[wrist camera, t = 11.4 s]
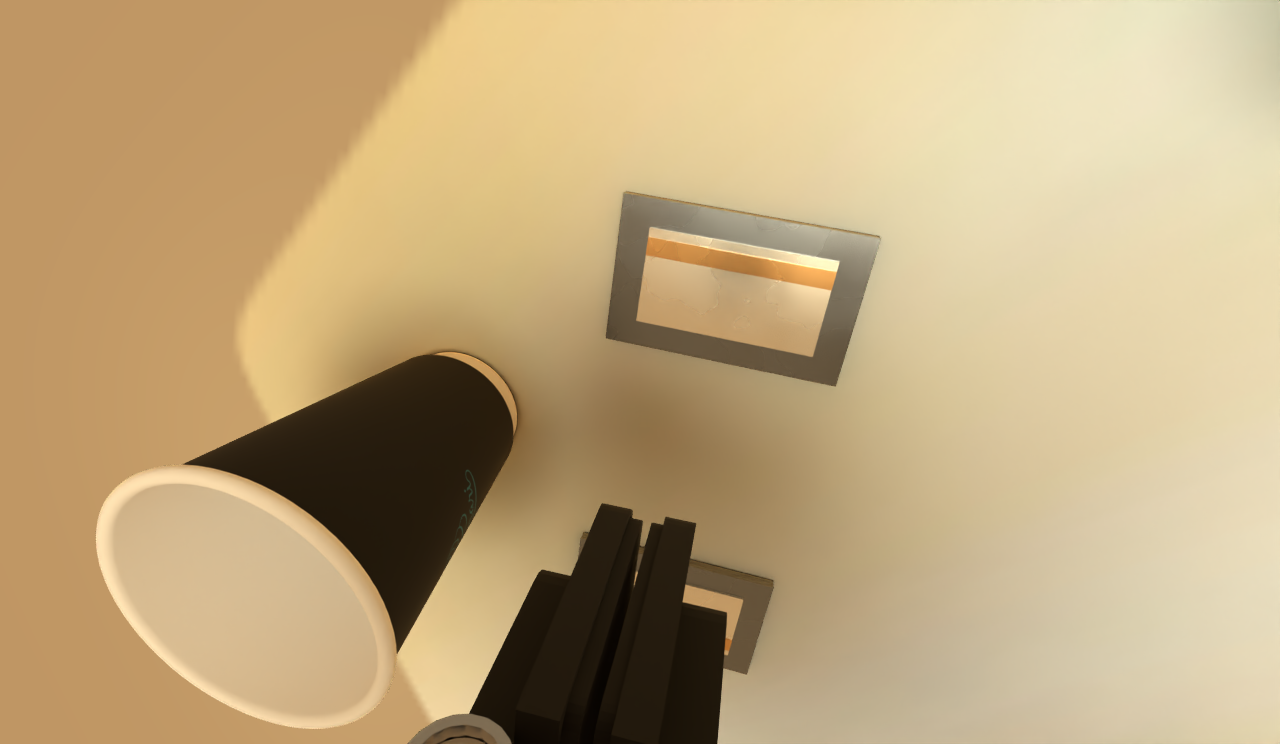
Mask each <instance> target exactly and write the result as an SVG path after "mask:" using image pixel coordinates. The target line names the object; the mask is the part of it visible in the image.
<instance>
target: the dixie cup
mask: <svg viewBox="0 0 1280 744" xmlns="http://www.w3.org/2000/svg"><path fill="white" fill-rule="evenodd" d="M516 425H517V410H516V405H515V401H514V399H513V396H512V394H511V392H510V390H509V388H508V386H507V385H506V383H505V382H504V381H503V379H502V378H501V377H500V376H499V375H498V374H497V373H496V372H495V371H494V370H493V369H492V368H491V367H489V366H488V365H487V364H485V363H483V362H482V361H480V360H478V359H476V358H474V357H472V356H469V355H466V354H462V353H456V352H442V353H437V354H434V355H423V356H418V357H414V358H411V359H409V360H407V361H405V362H403V363H400V364H398V365H396V366H394V367H392V368H390V369H388V370H385V371H383V372H381V373H379V374H377V375H375V376H372V377H370V378H368V379H366V380H364V381H362V382H359V383H357V384H355V385H353V386H351V387H349V388H346V389H344V390H342V391H340V392H338V393H336V394H334V395H331V396H329V397H327V398H325V399H323V400H321V401H318V402H316V403H314V404H312V405H310V406H308V407H305V408H303V409H301V410H299V411H297V412H295V413H292V414H290V415H288V416H286V417H284V418H282V419H280V420H277V421H275V422H273V423H271V424H269V425H267V426H264V427H263V428H260V429H258V430H256V431H254V432H252V433H249V434H247V435H245V436H243V437H241V438H238V439H236V440H234V441H232V442H230V443H228V444H226V445H223V446H221V447H219V448H217V449H215V450H213V451H210V452H208V453H206V454H204V455H202V456H200V457H197V458H195V459H193V460H191V461H189V462H187V463H185V464H183V465H167V466H160V467H155V468H152V469H148V470H145V471H141V472H139V473H137V474H134V475H132V476H130V477H129V478H127V479H126V480H124V481H123V482H121V483H120V484H119V485H118V486H117V487H116V488H115V489H114V490H113V491H112V492H111V493H110V495H109V496H108V497H107V499H106V500H105V502H104V504H103V506H102V508H101V511H100V514H99V517H98V522H97V530H96V547H97V555H98V560H99V563H100V568H101V571H102V574H103V576H104V579H105V582H106V584H107V586H108V588H109V591H110V593H111V594H112V596H113V598H114V600H115V602H116V604H117V605H118V607H119V609H120V610H121V612H122V613H123V615H124V616H125V618H126V619H127V620H128V622H129V623H130V625H131V626H132V627H133V628H134V629H135V631H136V632H137V633H138V635H139V636H140V637H141V638H142V639H143V640H144V641H145V643H146V644H147V645H148V646H149V647H150V648H151V649H152V650H153V651H154V652H155V653H156V654H157V655H158V656H159V657H160V658H161V659H162V660H163V661H164V662H165V663H167V664H168V665H169V666H170V667H171V668H172V669H174V670H175V671H176V672H177V673H178V674H180V675H181V676H182V677H183V678H185V679H186V680H188V681H189V682H190V683H192V684H193V685H194V686H196V687H198V688H199V689H200V690H202V691H204V692H205V693H207V694H208V695H210V696H212V697H213V698H215V699H217V700H218V701H221V702H222V703H224V704H226V705H228V706H230V707H232V708H234V709H236V710H239V711H241V712H243V713H245V714H248V715H250V716H253V717H256V718H258V719H262V720H265V721H268V722H272V723H275V724H280V725H284V726H289V727H296V728H307V729H319V728H331V727H336V726H341V725H345V724H348V723H351V722H354V721H356V720H358V719H360V718H362V717H363V716H365V715H367V714H368V713H369V712H371V711H372V710H373V709H374V708H375V707H376V706H377V705H378V704H379V703H380V702H381V701H382V700H383V698H384V697H385V695H386V694H387V692H388V690H389V688H390V685H391V683H392V680H393V677H394V673H395V669H396V660H397V653H398V652H399V650H400V648H401V646H402V645H403V643H404V641H405V639H406V637H407V636H408V634H409V632H410V630H411V628H412V627H413V625H414V623H415V621H416V620H417V618H418V616H419V614H420V612H421V611H422V609H423V607H424V605H425V604H426V602H427V600H428V598H429V596H430V595H431V593H432V591H433V589H434V587H435V586H436V584H437V582H438V580H439V579H440V577H441V575H442V573H443V571H444V570H445V568H446V566H447V564H448V563H449V561H450V559H451V557H452V555H453V554H454V552H455V550H456V548H457V547H458V545H459V543H460V541H461V539H462V538H463V536H464V534H465V532H466V530H467V529H468V527H469V525H470V523H471V522H472V520H473V518H474V516H475V514H476V513H477V511H478V509H479V507H480V506H481V504H482V502H483V500H484V498H485V497H486V495H487V493H488V491H489V489H490V488H491V486H492V484H493V482H494V481H495V479H496V477H497V475H498V473H499V472H500V470H501V468H502V466H503V465H504V463H505V461H506V459H507V457H508V456H509V453H510V451H511V448H512V444H513V435H514V433H515V430H516Z"/></svg>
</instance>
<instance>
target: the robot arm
mask: <svg viewBox="0 0 1280 744" xmlns="http://www.w3.org/2000/svg"><path fill="white" fill-rule="evenodd" d="M632 515H633V510H631V509H627V508H622V507H617V506H613V505H608V504H603V503H602V504H601V506H600V508H599V510H598V513H597V515H596V518H595V520H594V522H593V525H592V527H591V530H590V532H589V534H588V537H587V539H586V541H585V544H584V546H583V549H582V551H581V553H580V556H579V558H578V561H577V563H576V565H575V568H574V570H573V573H572V575H571V576H568V575H564V574H559V573H555V572H551V571H546V570H541V571H540V572H539V573H538V575H537V577H536V579H535V580H534V582H533V584H532V586H531V588H530V590H529V593H528V595H527V597H526V599H525V601H524V603H523V605H522V607H521V609H520V611H519V613H518V615H517V617H516V619H515V621H514V623H513V625H512V627H511V629H510V631H509V633H508V635H507V637H506V639H505V641H504V643H503V646H502V648H501V650H500V652H499V654H498V656H497V658H496V660H495V662H494V664H493V666H492V668H491V670H490V672H489V674H488V676H487V678H486V680H485V682H484V684H483V686H482V688H481V690H480V692H479V694H478V696H477V698H476V701H475V703H474V705H473V707H472V709H471V711H470V713H469V714H458V715H452V716H449V717H445V718H442V719H439V720H436V721H435V722H433V723H432V724H430V725H428V726H427V727H425V728H424V729H422V730H421V731H419V732H418V734H416V735H415V736H414V737H413V739H412V740H411V741H410V742H409V743H408V744H717V740H718V728H719V715H720V703H721V690H722V678H723V665H724V652H725V640H726V627H727V612H724V611H719V610H715V609H711V608H706V607H702V606H698V605H693V604H689V603H685V602H683V597H684V591H685V585H686V579H687V573H688V568H689V562H690V556H691V550H692V544H693V539H694V533H695V527H696V523H692V522H688V521H683V520H678V519H674V518H669V517H665V521H664V525H661V524H656V523H652V524H651V527H650V531H649V534H648V538H647V541H646V545H645V549H644V552H643V556H642V559H641V563H640V567H639V570H638V574H637V577H636V581H635V575H636V567H637V560H638V553H639V546H640V539H641V532H642V524H643V521H642V520H638V519H633V518H632ZM634 582H635V585H634Z"/></svg>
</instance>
